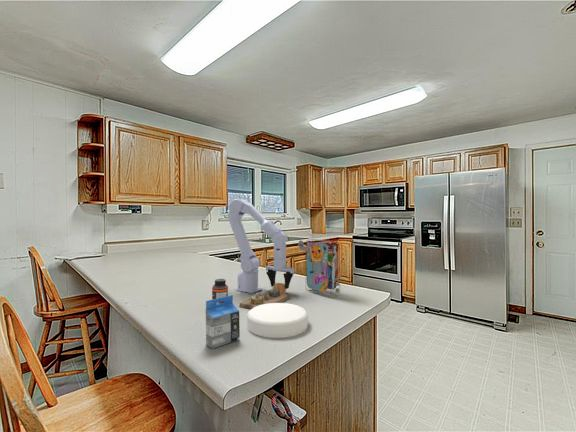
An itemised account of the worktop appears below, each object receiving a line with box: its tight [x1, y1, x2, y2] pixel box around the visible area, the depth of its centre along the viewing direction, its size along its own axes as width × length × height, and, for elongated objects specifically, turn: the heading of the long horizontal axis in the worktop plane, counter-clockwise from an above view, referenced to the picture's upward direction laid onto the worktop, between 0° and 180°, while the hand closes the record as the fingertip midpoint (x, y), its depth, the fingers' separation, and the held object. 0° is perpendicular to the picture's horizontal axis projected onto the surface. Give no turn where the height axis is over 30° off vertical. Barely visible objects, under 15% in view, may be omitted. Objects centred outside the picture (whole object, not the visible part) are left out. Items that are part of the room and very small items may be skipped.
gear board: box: [239, 286, 291, 310], centre depth 117 cm, size 11×20×5 cm, turn 149°
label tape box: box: [205, 294, 241, 350], centre depth 81 cm, size 9×4×12 cm, turn 133°
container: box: [246, 302, 309, 339], centre depth 94 cm, size 20×20×5 cm
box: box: [297, 238, 341, 299], centre depth 134 cm, size 25×6×24 cm, turn 39°
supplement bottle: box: [211, 278, 229, 305], centre depth 109 cm, size 6×6×11 cm
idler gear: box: [273, 282, 287, 294], centre depth 132 cm, size 6×6×4 cm
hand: (279, 287), depth 132 cm, fingers open, 7 cm apart
